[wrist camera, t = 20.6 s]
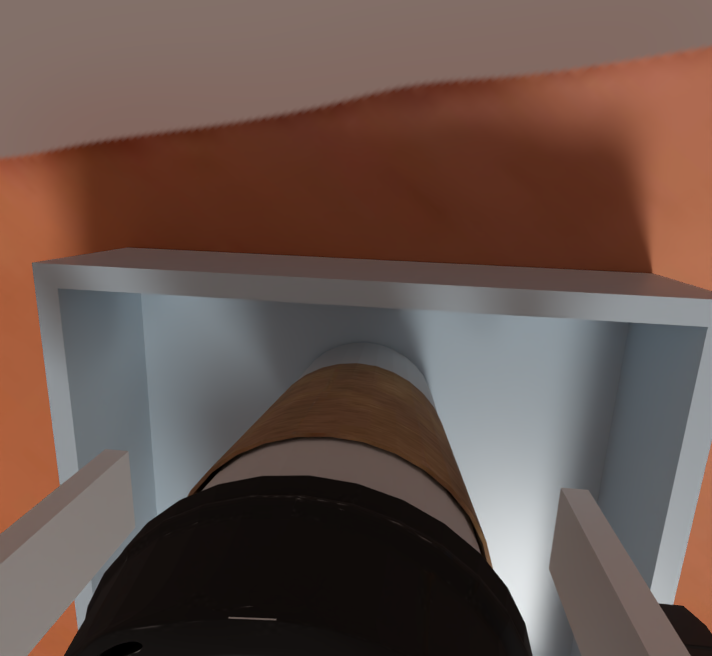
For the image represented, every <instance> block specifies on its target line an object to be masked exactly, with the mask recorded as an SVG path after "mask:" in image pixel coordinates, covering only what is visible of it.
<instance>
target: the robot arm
mask: <svg viewBox="0 0 712 656" xmlns="http://www.w3.org/2000/svg"><path fill="white" fill-rule="evenodd" d="M134 528H135V518H134V507H133V496H132V485H131V474H130V462H129V451H122V450H111V449H105V450H104V451H102V452H101V453H100V454H99V455H97V456H96V457H95V458H94V459H92V460H91V461H90V462H89V463H88V464H86V465H85V466H84V467H83V468H81V469H80V470H79V471H78V472H76V473H75V474H74V475H73V476H72V477H70V478H69V479H68V480H67V481H65V482H64V483H63V484H62V485H60V486H59V487H58V488H57V489H55V490H54V491H53V492H52V493H51V494H49V495H48V496H47V497H46V498H44V499H43V500H42V501H41V502H39V503H38V504H37V505H36V506H35V507H33V508H32V509H31V510H30V511H28V512H27V513H26V514H25V515H23V516H22V517H21V518H20V519H18V520H17V521H16V522H15V523H14V524H12V525H11V526H10V527H9V528H7V529H6V530H5V531H4V532H2V533H1V534H0V656H27V655H28V654H29V653H30V652H31V650H32V649H33V648H34V647H35V646H36V644H37V643H38V642H39V641H40V640H41V639H42V637H43V636H44V635H45V634H46V633H47V631H48V630H49V629H50V628H51V627H52V626H53V624H54V623H55V622H56V621H57V620H58V618H59V617H60V616H61V615H62V614H63V613H64V611H65V610H66V609H67V608H68V607H69V605H70V604H71V603H72V602H73V601H74V599H75V598H76V597H77V596H78V595H79V594H80V592H81V591H82V590H83V589H84V588H85V586H86V585H87V584H88V583H89V582H90V581H91V579H92V578H93V577H94V576H95V575H96V573H97V572H98V571H99V570H100V569H101V567H102V566H103V565H104V564H105V563H106V562H107V560H108V559H109V558H110V557H111V556H112V554H113V553H114V552H115V551H116V550H117V549H118V547H119V546H120V545H121V544H122V543H123V541H124V540H125V539H126V538H127V537H128V536H129V534H130V533H131V532H132V531H133V530H134ZM549 571H550V573H551V576H552V579H553V581H554V584H555V587H556V589H557V592H558V595H559V597H560V600H561V603H562V605H563V608H564V611H565V613H566V616H567V619H568V621H569V624H570V627H571V629H572V632H573V635H574V637H575V640H576V643H577V645H578V648H579V651H580V653H581V656H712V634H711V632H710V631H709V629H708V628H707V626H706V625H705V624H703V623H702V622H701V621H700V620H699V619H698V618H696V617H695V616H694V615H693V614H692V613H691V612H690V611H688V610H687V609H686V608H685V607H684V606H679V605H670V604H660V603H658V602H657V600H656V599H655V597H654V595H653V594H652V592H651V591H650V589H649V587H648V586H647V584H646V582H645V581H644V579H643V578H642V576H641V574H640V573H639V571H638V569H637V568H636V566H635V565H634V563H633V561H632V560H631V558H630V556H629V555H628V553H627V552H626V550H625V548H624V547H623V545H622V543H621V542H620V540H619V539H618V537H617V535H616V534H615V532H614V531H613V529H612V527H611V526H610V524H609V522H608V521H607V519H606V518H605V516H604V514H603V513H602V511H601V509H600V508H599V506H598V505H597V503H596V501H595V500H594V498H593V496H592V495H591V493H590V492H589V490H584V489H572V488H561V490H560V497H559V503H558V510H557V517H556V523H555V530H554V536H553V543H552V550H551V556H550V563H549Z"/></svg>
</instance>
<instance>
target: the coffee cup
mask: <svg viewBox="0 0 712 656" xmlns="http://www.w3.org/2000/svg"><path fill="white" fill-rule="evenodd" d="M64 656H533V655H532V650H531V646H530V642H529V637H528V633H527V628H526V624H525V622H524V620H523V618H522V616H521V614H520V612H519V610H518V607H517V605H516V603H515V601H514V599H513V597H512V595H511V593H510V591H509V589H508V587H507V586H506V585H505V583H504V582H503V581H502V580H501V578H500V577H499V576H498V575H497V574H496V572H495V571H494V570H493V567H492V563H491V558H490V554H489V550H488V546H487V542H486V539H485V536H484V534H483V531H482V528H481V526H480V523H479V520H478V518H477V515H476V512H475V510H474V507H473V505H472V502H471V499H470V497H469V494H468V491H467V489H466V486H465V483H464V481H463V478H462V475H461V473H460V470H459V467H458V465H457V462H456V459H455V457H454V454H453V451H452V449H451V446H450V443H449V441H448V438H447V435H446V433H445V430H444V428H443V425H442V422H441V420H440V418H439V416H438V413H437V410H436V407H435V404H434V400H433V397H432V394H431V391H430V389H429V386H428V384H427V382H426V380H425V378H424V376H423V375H422V373H421V372H420V371H419V370H418V368H417V367H416V366H415V365H414V364H413V363H412V362H411V361H410V360H409V359H407V358H406V357H405V356H404V355H402V354H400V353H399V352H397V351H395V350H393V349H391V348H388V347H385V346H383V345H380V344H373V343H367V342H363V343H350V344H345V345H341V346H338V347H335V348H333V349H331V350H329V351H326V352H325V353H324V354H322V355H321V356H320V357H318V358H317V359H316V360H314V361H313V363H312V364H311V365H310V366H309V367H308V368H307V369H306V370H305V371H304V373H303V374H302V375H301V376H300V377H299V378H298V379H297V381H296V382H295V383H294V384H292V385H291V386H290V387H289V388H288V389H287V390H286V391H285V392H284V393H283V394H282V395H281V396H280V397H279V398H278V399H277V401H276V402H275V403H274V404H273V405H272V406H271V407H270V408H269V409H268V410H267V411H266V412H265V413H264V414H263V415H262V416H261V417H260V418H259V419H258V420H257V421H256V422H255V423H254V424H253V425H252V426H251V427H250V428H249V429H248V430H247V431H246V432H245V433H244V434H243V435H242V436H241V437H240V439H239V440H238V441H237V442H236V443H235V444H234V445H233V446H232V447H231V448H230V449H229V450H228V451H227V452H226V453H225V454H224V455H223V456H222V457H221V458H220V459H219V460H218V461H217V462H216V463H215V464H214V465H213V466H212V467H211V468H210V469H209V470H208V472H207V473H206V474H205V475H204V476H203V477H202V478H201V479H200V480H199V482H198V483H197V484H196V485H195V486H194V487H193V488H192V489H191V491H190V492H189V494H188V496H187V497H186V498H183V499H181V500H179V501H177V502H176V503H175V504H173V505H172V506H170V507H169V508H167V509H166V510H165V511H163V512H162V513H160V514H159V515H157V516H156V517H155V518H153V519H152V520H150V521H149V522H148V523H147V524H146V525H145V526H144V527H143V528H142V529H141V530H140V532H139V533H138V534H137V535H136V536H135V537H134V538H133V539H132V541H131V542H130V543H129V544H128V545H127V546H126V547H125V548H124V550H123V552H122V553H121V554H120V555H119V556H118V558H117V559H116V560H115V561H114V562H113V563H112V565H111V566H110V567H109V568H108V569H107V570H106V571H105V573H104V574H103V576H102V578H101V580H100V582H99V584H98V586H97V588H96V590H95V592H94V594H93V596H92V598H91V600H90V602H89V604H88V607H87V611H86V616H85V620H84V622H83V623H82V625H81V627H80V628H79V630H78V632H77V634H76V635H75V637H74V639H73V641H72V642H71V644H70V646H69V648H68V650H67V651H66V653H65V655H64Z"/></svg>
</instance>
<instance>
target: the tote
mask: <svg viewBox="0 0 712 656" xmlns="http://www.w3.org/2000/svg"><path fill="white" fill-rule="evenodd" d="M32 268H33V275H34V283H35V291H36V299H37V307H38V315H39V323H40V331H41V339H42V347H43V355H44V363H45V370H46V378H47V386H48V394H49V402H50V410H51V418H52V426H53V434H54V442H55V450H56V458H57V465H58V473H59V481H60V485H62V484H63V483H64V482H65V481H67V480H68V479H69V478H70V477H72V476H73V475H74V474H75V473H76V472H78V471H79V470H80V469H81V468H83V467H84V466H85V465H86V464H88V463H89V462H90V461H91V460H92V459H94V458H95V457H96V456H97V455H99V454H100V453H101V452H102V451H104V450H105V449H111V450H122V451H129V462H130V474H131V485H132V496H133V507H134V518H135V528H134V530H133V531H132V532H131V533H130V534H129V536H128V537H127V538H126V539H125V540H124V541H123V543H122V544H121V545H120V546H119V547H118V549H117V550H116V551H115V552H114V553H113V554H112V556H111V557H110V558H109V559H108V560H107V562H106V563H105V564H104V565H103V566H102V567H101V569H100V570H99V571H98V572H97V573H96V575H95V576H94V577H93V578H92V579H91V581H90V582H89V583H88V584H87V585H86V586H85V588H84V589H83V590H82V591H81V592H80V594H79V595H78V596H77V597H76V598H75V599H74V600H75V608H76V616H77V624H78V630H79V628H80V627H81V625H82V623H83V622H84V620H85V616H86V611H87V607H88V604H89V602H90V600H91V598H92V596H93V594H94V592H95V590H96V588H97V586H98V584H99V582H100V580H101V578H102V576H103V574H104V573H105V571H106V570H107V569H108V568H109V567H110V566H111V565H112V563H113V562H114V561H115V560H116V559H117V558H118V556H119V555H120V554H121V553H122V552H123V550H124V548H125V547H126V546H127V545H128V544H129V543H130V542H131V541H132V539H133V538H134V537H135V536H136V535H137V534H138V533H139V532H140V530H141V529H142V528H143V527H144V526H145V525H146V524H147V523H148V522H149V521H150V520H152V519H153V518H155V517H156V516H157V515H159V514H160V513H162V512H163V511H165V510H166V509H167V508H169V507H170V506H172V505H173V504H175V503H176V502H177V501H179V500H181V499H183V498H186V497H187V496H188V494H189V492H190V491H191V489H192V488H193V487H194V486H195V485H196V484H197V483H198V482H199V480H200V479H201V478H202V477H203V476H204V475H205V474H206V473H207V472H208V470H209V469H210V468H211V467H212V466H213V465H214V464H215V463H216V462H217V461H218V460H219V459H220V458H221V457H222V456H223V455H224V454H225V453H226V452H227V451H228V450H229V449H230V448H231V447H232V446H233V445H234V444H235V443H236V442H237V441H238V440H239V439H240V437H241V436H242V435H243V434H244V433H245V432H246V431H247V430H248V429H249V428H250V427H251V426H252V425H253V424H254V423H255V422H256V421H257V420H258V419H259V418H260V417H261V416H262V415H263V414H264V413H265V412H266V411H267V410H268V409H269V408H270V407H271V406H272V405H273V404H274V403H275V402H276V401H277V399H278V398H279V397H280V396H281V395H282V394H283V393H284V392H285V391H286V390H287V389H288V388H289V387H290V386H291V385H292V384H294V383H295V382H296V381H297V379H298V378H299V377H300V376H301V375H302V374H303V373H304V371H305V370H306V369H307V368H308V367H309V366H310V365H311V364H312V363H313V361H314V360H316V359H317V358H318V357H320V356H321V355H322V354H324V353H325V352H326V351H329V350H331V349H333V348H335V347H338V346H341V345H345V344H350V343H363V342H367V343H373V344H380V345H383V346H385V347H388V348H391V349H393V350H395V351H397V352H399V353H400V354H402V355H404V356H405V357H406V358H407V359H409V360H410V361H411V362H412V363H413V364H414V365H415V366H416V367H417V368H418V370H419V371H420V372H421V373H422V375H423V376H424V378H425V380H426V382H427V384H428V386H429V389H430V391H431V394H432V397H433V400H434V404H435V407H436V410H437V413H438V416H439V418H440V420H441V422H442V425H443V428H444V430H445V433H446V435H447V438H448V441H449V443H450V446H451V449H452V451H453V454H454V457H455V459H456V462H457V465H458V467H459V470H460V473H461V475H462V478H463V481H464V483H465V486H466V489H467V491H468V494H469V497H470V499H471V502H472V505H473V507H474V510H475V512H476V515H477V518H478V520H479V523H480V526H481V528H482V531H483V534H484V536H485V539H486V542H487V546H488V550H489V554H490V558H491V563H492V567H493V570H494V571H495V572H496V574H497V575H498V576H499V577H500V578H501V580H502V581H503V582H504V583H505V585H506V586H507V587H508V589H509V591H510V593H511V595H512V597H513V599H514V601H515V603H516V605H517V607H518V610H519V612H520V614H521V616H522V618H523V620H524V622H525V624H526V628H527V633H528V637H529V642H530V646H531V650H532V655H533V656H581V653H580V651H579V648H578V645H577V643H576V640H575V637H574V635H573V632H572V629H571V627H570V624H569V621H568V619H567V616H566V613H565V611H564V608H563V605H562V603H561V600H560V597H559V595H558V592H557V589H556V587H555V584H554V581H553V579H552V576H551V573H550V571H549V563H550V556H551V550H552V543H553V536H554V530H555V523H556V517H557V510H558V503H559V497H560V490H561V488H572V489H584V490H589V492H590V493H591V495H592V496H593V498H594V500H595V501H596V503H597V505H598V506H599V508H600V509H601V511H602V513H603V514H604V516H605V518H606V519H607V521H608V522H609V524H610V526H611V527H612V529H613V531H614V532H615V534H616V535H617V537H618V539H619V540H620V542H621V543H622V545H623V547H624V548H625V550H626V552H627V553H628V555H629V556H630V558H631V560H632V561H633V563H634V565H635V566H636V568H637V569H638V571H639V573H640V574H641V576H642V578H643V579H644V581H645V582H646V584H647V586H648V587H649V589H650V591H651V592H652V594H653V595H654V597H655V599H656V600H657V602H658V603H660V604H670V605H673V603H674V599H675V594H676V590H677V586H678V582H679V577H680V573H681V569H682V565H683V560H684V556H685V552H686V548H687V543H688V539H689V535H690V531H691V526H692V522H693V518H694V514H695V509H696V505H697V501H698V496H699V492H700V488H701V484H702V479H703V475H704V471H705V467H706V462H707V458H708V454H709V450H710V445H711V441H712V291H709V290H706V289H703V288H699V287H696V286H693V285H689V284H686V283H683V282H679V281H676V280H673V279H670V278H666V277H663V276H660V275H656V274H653V273H634V272H613V271H593V270H573V269H553V268H533V267H512V266H492V265H472V264H452V263H432V262H411V261H391V260H371V259H351V258H330V257H310V256H290V255H270V254H250V253H229V252H209V251H189V250H169V249H149V248H128V247H127V248H121V249H115V250H109V251H102V252H96V253H90V254H84V255H77V256H71V257H65V258H59V259H52V260H46V261H40V262H34V263H32Z"/></svg>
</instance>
